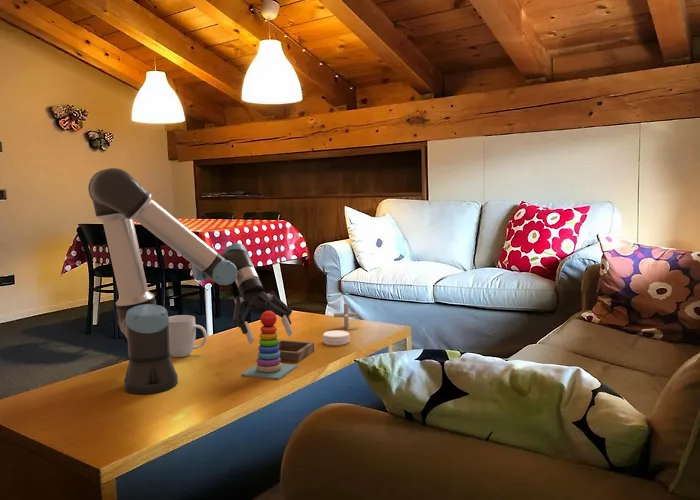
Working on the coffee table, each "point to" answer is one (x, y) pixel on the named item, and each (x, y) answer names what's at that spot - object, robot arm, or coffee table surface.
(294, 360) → the tray
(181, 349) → the mug
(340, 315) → the pipe connector
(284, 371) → the mat
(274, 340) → the stacking toy
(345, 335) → the white coaster stack
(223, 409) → the coffee table surface
